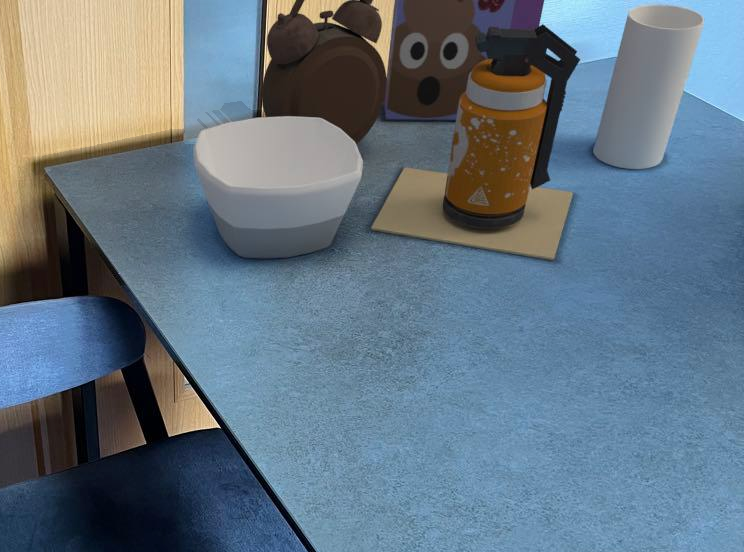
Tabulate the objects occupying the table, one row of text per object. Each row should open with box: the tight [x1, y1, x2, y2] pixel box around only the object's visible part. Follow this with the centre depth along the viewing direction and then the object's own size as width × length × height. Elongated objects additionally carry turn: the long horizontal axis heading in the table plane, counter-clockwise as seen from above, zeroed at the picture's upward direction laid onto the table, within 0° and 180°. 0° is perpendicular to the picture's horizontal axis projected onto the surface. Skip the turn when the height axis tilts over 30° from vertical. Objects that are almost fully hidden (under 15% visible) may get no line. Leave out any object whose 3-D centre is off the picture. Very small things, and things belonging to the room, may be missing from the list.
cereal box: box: [383, 0, 545, 122], centre depth 128 cm, size 17×5×24 cm, turn 87°
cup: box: [592, 3, 705, 170], centre depth 122 cm, size 8×8×16 cm
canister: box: [443, 24, 581, 229], centre depth 109 cm, size 9×11×20 cm
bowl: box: [192, 116, 364, 259], centre depth 112 cm, size 18×18×9 cm
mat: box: [370, 166, 574, 261], centre depth 118 cm, size 20×16×1 cm
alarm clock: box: [261, 0, 387, 145], centre depth 121 cm, size 14×7×20 cm, turn 115°
